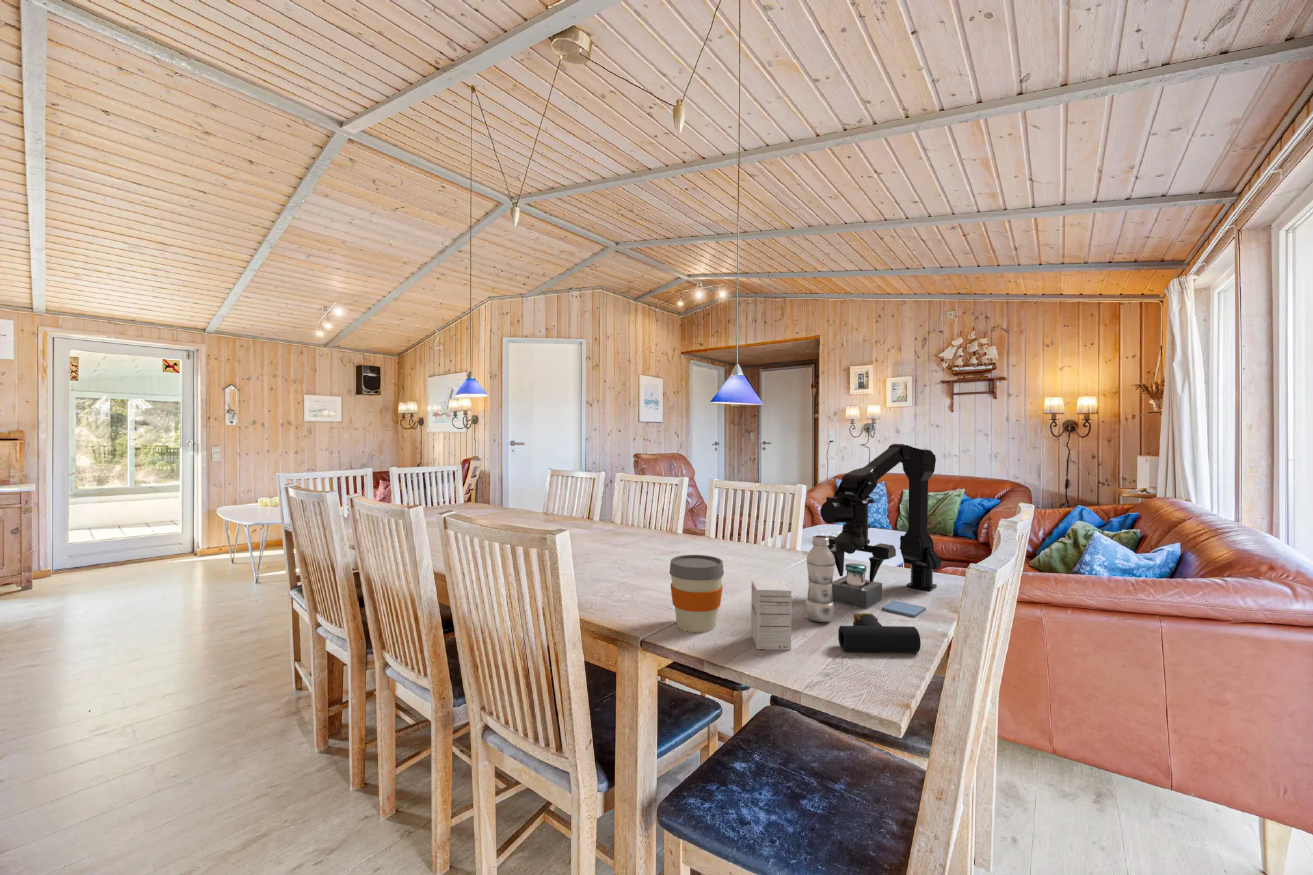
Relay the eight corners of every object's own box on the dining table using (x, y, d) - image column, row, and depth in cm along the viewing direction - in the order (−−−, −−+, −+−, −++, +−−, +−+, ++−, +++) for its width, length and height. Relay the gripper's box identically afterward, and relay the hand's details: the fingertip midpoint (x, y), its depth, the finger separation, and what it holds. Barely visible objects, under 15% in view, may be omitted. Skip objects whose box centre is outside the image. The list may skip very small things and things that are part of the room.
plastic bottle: (810, 613, 133) (811, 532, 133) (838, 619, 129) (839, 536, 129) (801, 621, 128) (801, 537, 128) (829, 627, 124) (830, 540, 124)
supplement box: (750, 636, 119) (750, 579, 118) (784, 636, 118) (784, 579, 118) (755, 650, 111) (756, 589, 111) (791, 650, 111) (792, 589, 111)
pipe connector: (829, 610, 121) (896, 610, 121) (828, 633, 121) (896, 634, 121) (846, 630, 109) (920, 631, 109) (845, 656, 110) (920, 657, 109)
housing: (845, 591, 151) (846, 575, 151) (881, 599, 144) (882, 583, 144) (829, 599, 144) (829, 583, 144) (866, 608, 137) (866, 591, 137)
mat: (893, 602, 142) (893, 600, 142) (925, 609, 136) (925, 607, 136) (881, 609, 136) (881, 607, 136) (914, 617, 131) (914, 615, 131)
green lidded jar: (850, 595, 148) (850, 562, 148) (869, 599, 144) (869, 565, 144) (841, 600, 144) (842, 565, 144) (861, 604, 140) (861, 569, 140)
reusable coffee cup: (701, 640, 116) (701, 571, 116) (658, 625, 125) (658, 561, 125) (734, 624, 126) (734, 560, 125) (692, 612, 134) (692, 552, 134)
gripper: (809, 520, 144) (809, 578, 145) (879, 529, 131) (879, 593, 132) (828, 515, 152) (828, 570, 153) (897, 523, 139) (896, 583, 140)
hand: (855, 579), depth 144 cm, fingers open, 8 cm apart
